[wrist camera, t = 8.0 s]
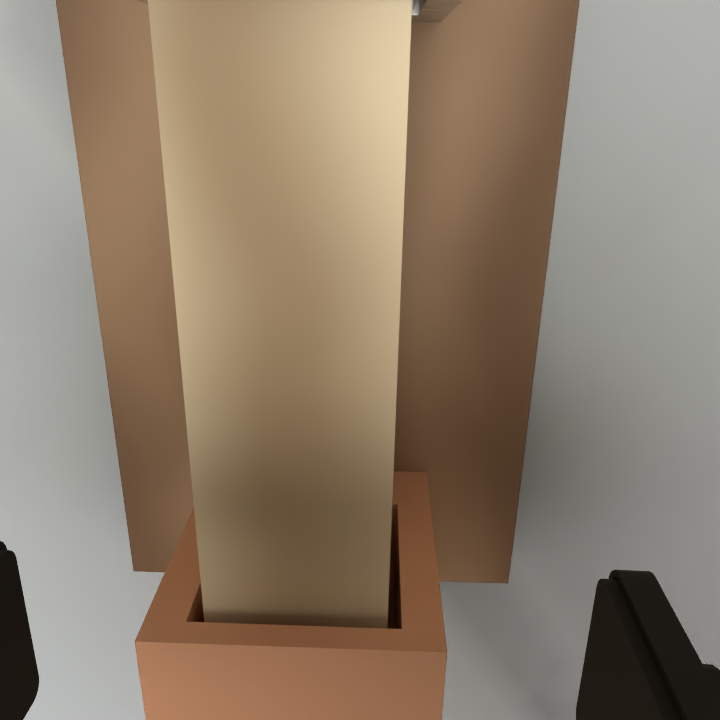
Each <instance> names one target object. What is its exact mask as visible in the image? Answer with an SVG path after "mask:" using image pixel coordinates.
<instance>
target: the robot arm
mask: <svg viewBox="0 0 720 720" xmlns="http://www.w3.org/2000/svg"><path fill="white" fill-rule="evenodd" d="M38 687H39V675H38V670H37V664H36V659H35V654H34V649H33V643H32V638H31V633H30V628H29V622H28V617H27V612H26V607H25V601H24V596H23V591H22V586H21V581H20V575H19V570H18V565H17V560H16V556H15V554H14V552H13V551H10V550H7V548H6V545H5V544H4V543H3V542H1V541H0V720H23V719H24V717H25V715H26V714H27V712H28V710H29V709H30V707H31V705H32V704H33V702H34V700H35V698H36V695H37V691H38ZM576 720H720V670H719V669H718V668H716V667H715V666H713V665H709V664H702V662H701V660H700V659H699V657H698V655H697V653H696V651H695V649H694V648H693V646H692V644H691V642H690V640H689V638H688V636H687V635H686V633H685V631H684V629H683V627H682V625H681V624H680V622H679V620H678V618H677V616H676V614H675V612H674V611H673V609H672V607H671V605H670V603H669V601H668V600H667V598H666V596H665V594H664V592H663V590H662V588H661V587H660V585H659V583H658V581H657V579H656V577H655V576H654V575H653V573H651V572H649V571H629V570H613V571H612V572H611V573H610V575H609V579H600V580H599V581H598V584H597V588H596V594H595V600H594V606H593V612H592V618H591V624H590V630H589V636H588V642H587V647H586V653H585V659H584V665H583V671H582V677H581V683H580V689H579V695H578V701H577V707H576Z"/></svg>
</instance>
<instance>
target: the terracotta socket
mask: <svg viewBox="0 0 720 720" xmlns="http://www.w3.org/2000/svg"><path fill="white" fill-rule="evenodd" d="M135 647H136V654H137V661H138V668H139V675H140V682H141V689H142V696H143V703H144V710H145V717H146V720H441V719H442V707H443V695H444V683H445V671H446V660H447V647H446V638H445V630H444V621H443V612H442V603H441V594H440V586H439V577H438V568H437V559H436V550H435V541H434V533H433V524H432V515H431V506H430V497H429V489H428V480H427V472H400V471H394V472H393V497H392V523H391V548H390V573H389V598H388V624H387V629H386V628H357V627H328V626H299V625H269V624H240V623H211V622H204V613H203V602H202V591H201V580H200V569H199V558H198V547H197V536H196V525H195V514H194V508H193V510H192V513H191V515H190V517H189V519H188V522H187V524H186V526H185V528H184V531H183V533H182V535H181V538H180V540H179V542H178V544H177V547H176V549H175V551H174V553H173V556H172V558H171V560H170V563H169V565H168V567H167V569H166V572H165V574H164V576H163V578H162V581H161V583H160V585H159V588H158V590H157V592H156V594H155V597H154V599H153V601H152V604H151V606H150V608H149V610H148V613H147V615H146V617H145V619H144V622H143V624H142V626H141V629H140V631H139V633H138V635H137V638H136V640H135Z"/></svg>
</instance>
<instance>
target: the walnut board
mask: <svg viewBox="0 0 720 720" xmlns="http://www.w3.org/2000/svg"><path fill="white" fill-rule="evenodd" d="M56 5H57V12H58V20H59V27H60V34H61V42H62V49H63V56H64V64H65V71H66V78H67V86H68V93H69V100H70V108H71V115H72V122H73V130H74V137H75V144H76V152H77V159H78V166H79V174H80V181H81V188H82V196H83V203H84V210H85V218H86V225H87V232H88V240H89V247H90V254H91V262H92V269H93V276H94V284H95V291H96V298H97V306H98V313H99V320H100V328H101V335H102V342H103V350H104V357H105V364H106V372H107V379H108V386H109V394H110V401H111V408H112V416H113V423H114V431H115V438H116V445H117V453H118V460H119V467H120V475H121V482H122V489H123V497H124V504H125V511H126V519H127V526H128V533H129V541H130V548H131V555H132V563H133V570H134V571H144V572H166V569H167V567H168V565H169V563H170V560H171V558H172V556H173V553H174V551H175V549H176V547H177V544H178V542H179V540H180V538H181V535H182V533H183V531H184V528H185V526H186V524H187V522H188V519H189V517H190V515H191V513H192V510H193V508H194V503H193V492H192V481H191V470H190V459H189V448H188V437H187V426H186V415H185V404H184V393H183V382H182V371H181V360H180V349H179V338H178V327H177V316H176V305H175V294H174V283H173V272H172V261H171V250H170V239H169V228H168V217H167V206H166V195H165V184H164V173H163V162H162V151H161V140H160V129H159V118H158V107H157V96H156V85H155V74H154V63H153V52H152V41H151V30H150V19H149V8H148V5H147V4H144V3H141V2H138V1H135V0H56ZM578 8H579V0H463V1H462V2H461V3H460V4H459V5H458V6H457V7H456V8H455V9H454V10H453V11H452V12H451V13H450V14H449V15H448V16H447V17H446V18H445V19H443V20H442V21H441V22H412V21H411V42H410V68H409V93H408V118H407V143H406V169H405V194H404V219H403V245H402V270H401V295H400V320H399V346H398V371H397V396H396V421H395V447H394V471H400V472H427V480H428V489H429V497H430V506H431V515H432V524H433V533H434V541H435V550H436V559H437V568H438V577H439V581H451V582H481V583H508V581H509V573H510V565H511V557H512V549H513V540H514V532H515V524H516V516H517V508H518V499H519V491H520V483H521V475H522V467H523V459H524V450H525V442H526V434H527V426H528V418H529V409H530V401H531V393H532V385H533V377H534V368H535V360H536V352H537V344H538V336H539V328H540V319H541V311H542V303H543V295H544V287H545V278H546V270H547V262H548V254H549V246H550V237H551V229H552V221H553V213H554V205H555V197H556V188H557V180H558V172H559V164H560V156H561V147H562V139H563V131H564V123H565V115H566V106H567V98H568V90H569V82H570V74H571V66H572V57H573V49H574V41H575V33H576V25H577V16H578Z"/></svg>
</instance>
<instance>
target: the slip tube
mask: <svg viewBox="0 0 720 720" xmlns="http://www.w3.org/2000/svg"><path fill="white" fill-rule="evenodd" d="M148 8H149V19H150V30H151V41H152V52H153V63H154V74H155V85H156V96H157V107H158V118H159V129H160V140H161V151H162V162H163V173H164V184H165V195H166V206H167V217H168V228H169V239H170V250H171V261H172V272H173V283H174V294H175V305H176V316H177V327H178V338H179V349H180V360H181V371H182V382H183V393H184V404H185V415H186V426H187V437H188V448H189V459H190V470H191V481H192V492H193V503H194V514H195V525H196V536H197V547H198V558H199V569H200V580H201V591H202V602H203V613H204V622H211V623H240V624H269V625H299V626H328V627H357V628H386V629H387V624H388V598H389V573H390V548H391V523H392V497H393V472H394V447H395V421H396V396H397V371H398V346H399V320H400V295H401V270H402V245H403V219H404V194H405V169H406V143H407V118H408V93H409V68H410V42H411V17H412V0H148Z"/></svg>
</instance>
